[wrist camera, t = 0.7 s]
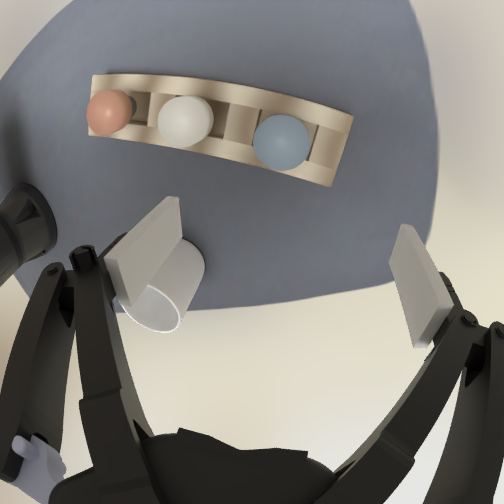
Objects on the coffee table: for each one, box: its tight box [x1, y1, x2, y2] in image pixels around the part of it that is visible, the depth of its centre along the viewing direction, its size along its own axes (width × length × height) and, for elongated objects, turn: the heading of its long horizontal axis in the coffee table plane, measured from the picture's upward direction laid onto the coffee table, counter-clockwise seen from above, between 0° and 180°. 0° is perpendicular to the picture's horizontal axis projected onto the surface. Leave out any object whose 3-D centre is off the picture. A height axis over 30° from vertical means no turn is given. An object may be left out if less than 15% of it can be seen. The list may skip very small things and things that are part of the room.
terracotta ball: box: [87, 89, 137, 136], centre depth 24 cm, size 5×5×4 cm
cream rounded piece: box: [158, 95, 214, 148], centre depth 24 cm, size 5×5×4 cm
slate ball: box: [253, 114, 310, 171], centre depth 24 cm, size 5×5×4 cm
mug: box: [122, 239, 205, 333], centre depth 36 cm, size 9×12×11 cm
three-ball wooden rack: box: [89, 74, 354, 187], centre depth 27 cm, size 30×8×3 cm, turn 78°
